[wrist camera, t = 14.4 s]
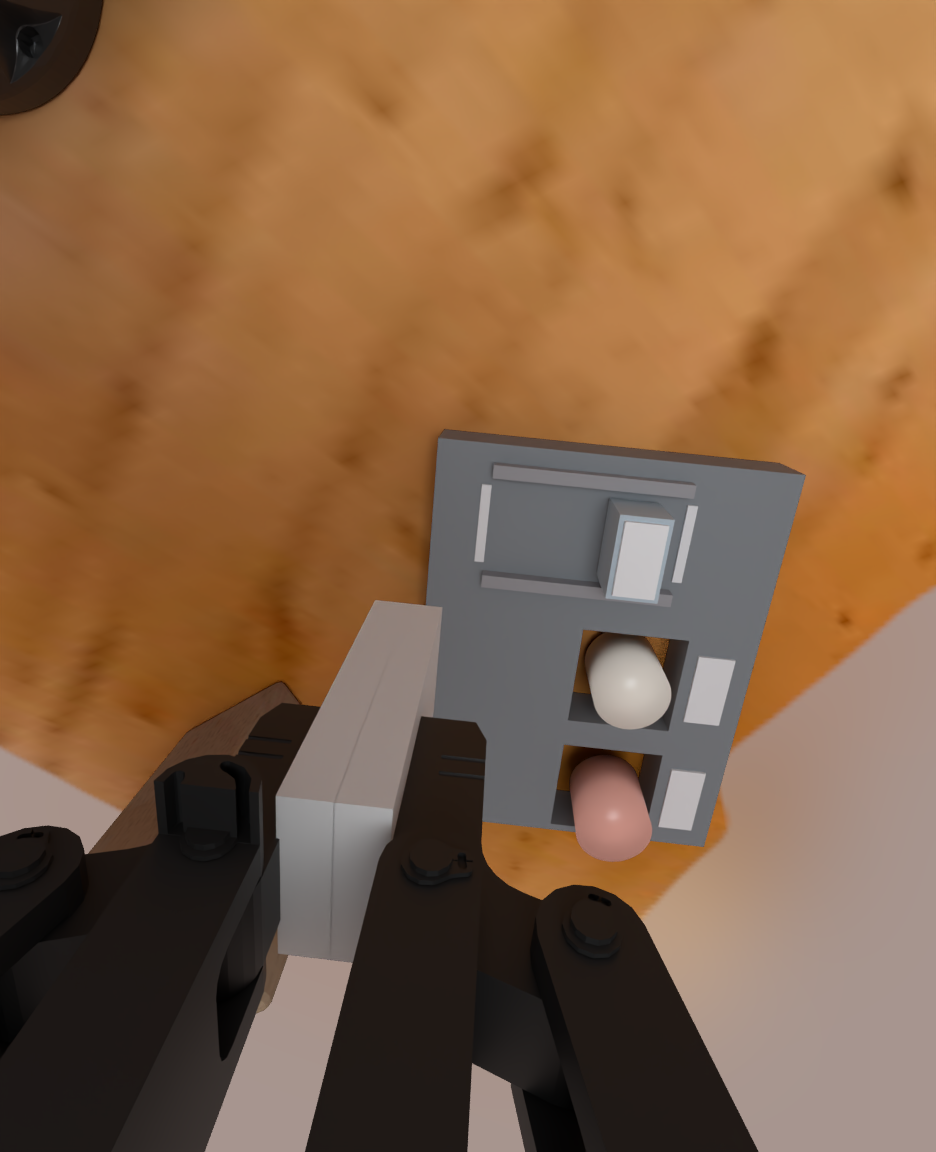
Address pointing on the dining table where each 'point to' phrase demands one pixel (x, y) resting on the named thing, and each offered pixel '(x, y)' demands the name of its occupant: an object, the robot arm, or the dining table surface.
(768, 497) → the console
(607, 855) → the button coral
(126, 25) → the dining table surface
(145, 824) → the wooden block
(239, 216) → the dining table surface
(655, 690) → the button ivory
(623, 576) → the slider knob
